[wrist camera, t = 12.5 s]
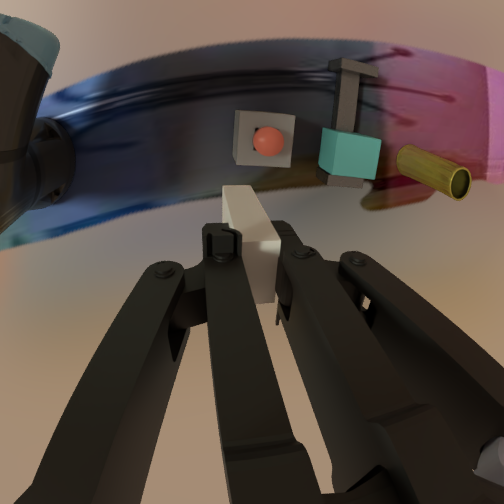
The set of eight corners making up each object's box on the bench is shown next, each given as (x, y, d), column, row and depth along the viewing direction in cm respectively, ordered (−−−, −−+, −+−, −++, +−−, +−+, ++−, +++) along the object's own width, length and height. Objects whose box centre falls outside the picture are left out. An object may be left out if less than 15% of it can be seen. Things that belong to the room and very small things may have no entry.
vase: (403, 182, 49) (453, 211, 36) (390, 155, 46) (443, 179, 34) (425, 164, 47) (477, 188, 35) (413, 137, 45) (467, 156, 32)
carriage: (354, 168, 46) (374, 179, 40) (315, 163, 45) (331, 174, 39) (359, 133, 43) (381, 140, 37) (319, 127, 42) (337, 132, 36)
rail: (348, 179, 47) (362, 188, 43) (315, 176, 46) (327, 185, 42) (362, 69, 38) (378, 67, 34) (328, 61, 37) (342, 57, 33)
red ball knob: (247, 148, 39) (253, 155, 34) (249, 123, 37) (255, 126, 33) (273, 150, 39) (282, 157, 35) (276, 125, 38) (285, 128, 33)
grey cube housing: (232, 155, 43) (236, 164, 37) (235, 109, 40) (240, 111, 34) (280, 157, 44) (292, 167, 38) (284, 113, 41) (297, 115, 35)
